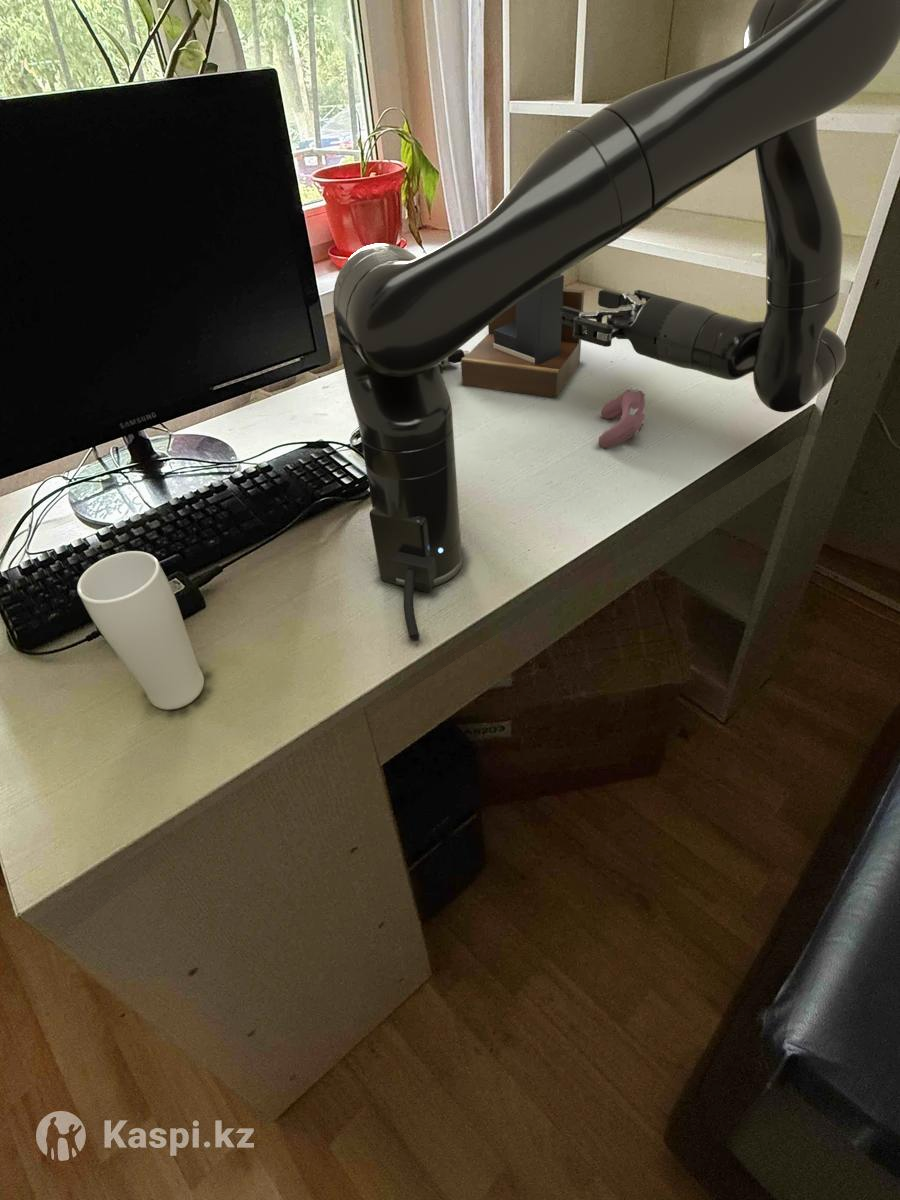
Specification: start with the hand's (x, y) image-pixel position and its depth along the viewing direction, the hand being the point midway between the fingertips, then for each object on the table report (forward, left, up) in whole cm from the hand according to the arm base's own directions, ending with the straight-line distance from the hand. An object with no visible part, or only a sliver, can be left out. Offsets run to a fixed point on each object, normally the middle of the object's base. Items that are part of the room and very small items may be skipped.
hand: (580, 305), depth 98 cm
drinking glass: (-72, +18, -14) cm, 75 cm away
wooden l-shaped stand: (+4, +10, -14) cm, 18 cm away
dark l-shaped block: (+5, +10, -10) cm, 14 cm away
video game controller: (-10, -10, -14) cm, 19 cm away
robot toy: (-1, +26, -14) cm, 30 cm away
